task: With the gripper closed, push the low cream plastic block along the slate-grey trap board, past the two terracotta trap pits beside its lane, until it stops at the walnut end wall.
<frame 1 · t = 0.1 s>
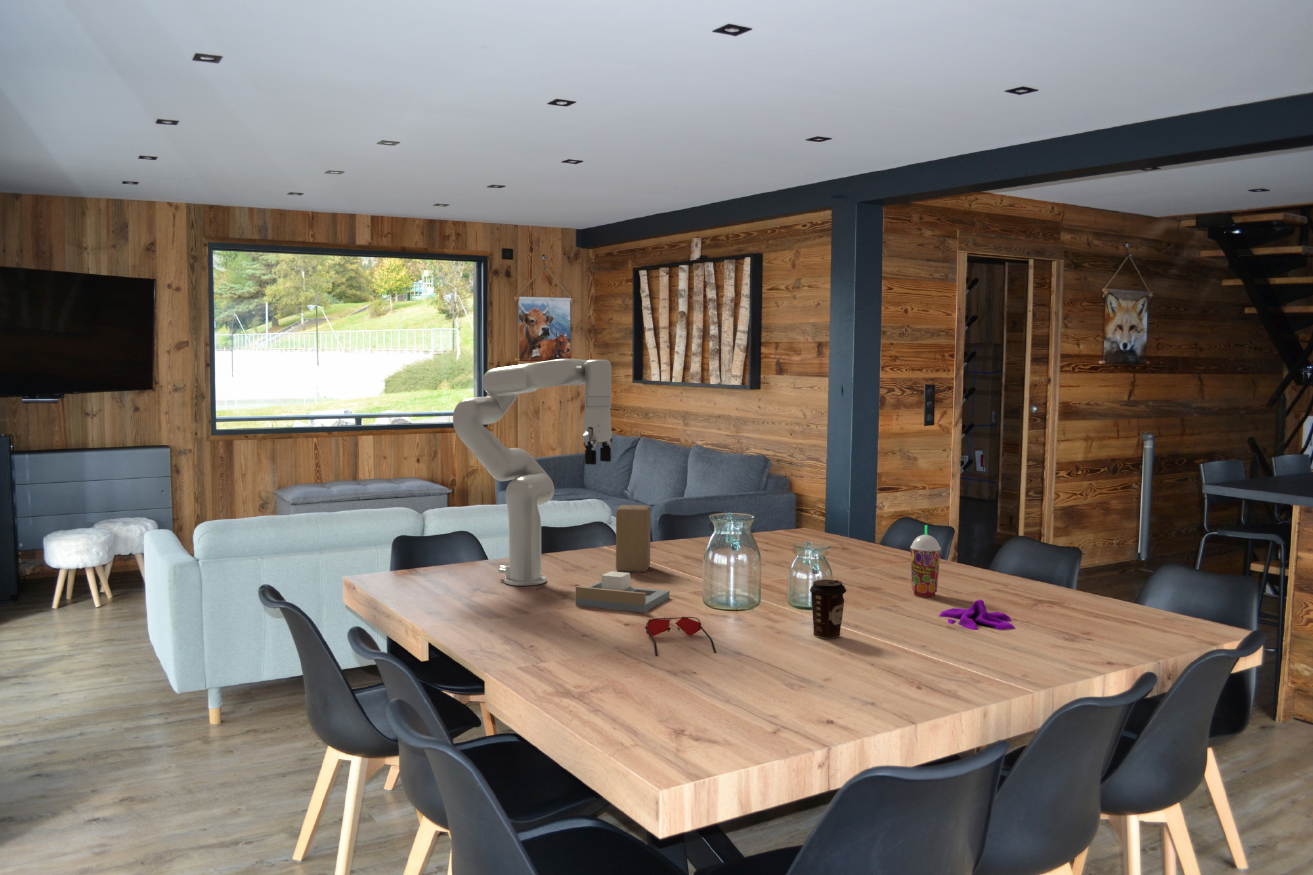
hand: (598, 462, 281), 37 cm above the table, tool pointing down, fingers open, 9 cm apart
coffee cup: (827, 636, 235), on the table
cloth: (976, 624, 249), on the table
trap board: (623, 601, 269), on the table
block: (633, 569, 312), on the table
smoothie: (924, 595, 278), on the table
glasses: (679, 646, 227), on the table
cream block: (615, 588, 276), point 2 cm above the table, touching trap board
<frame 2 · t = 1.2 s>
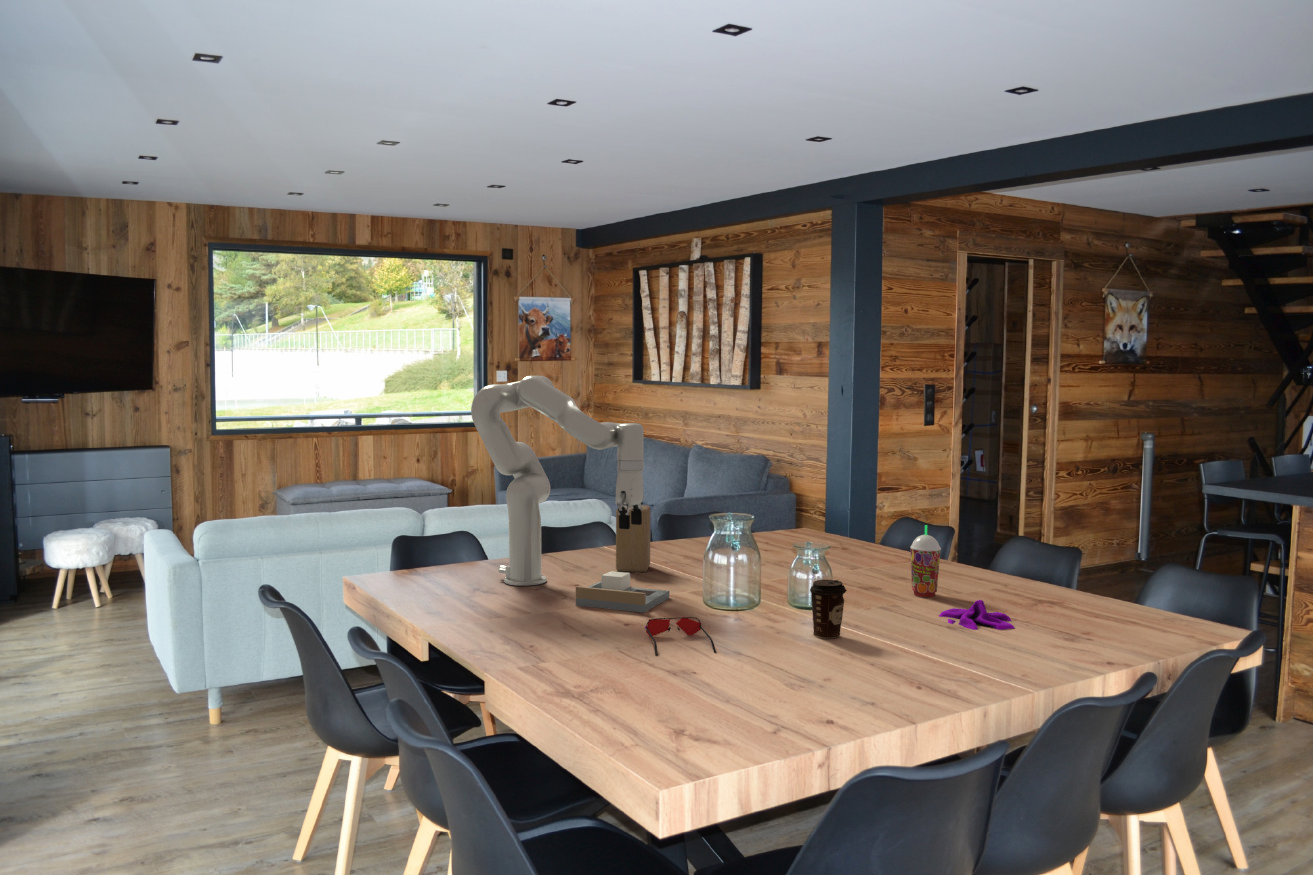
hand: (630, 526, 284), 18 cm above the table, tool pointing down, fingers open, 7 cm apart
nothing on the table moved.
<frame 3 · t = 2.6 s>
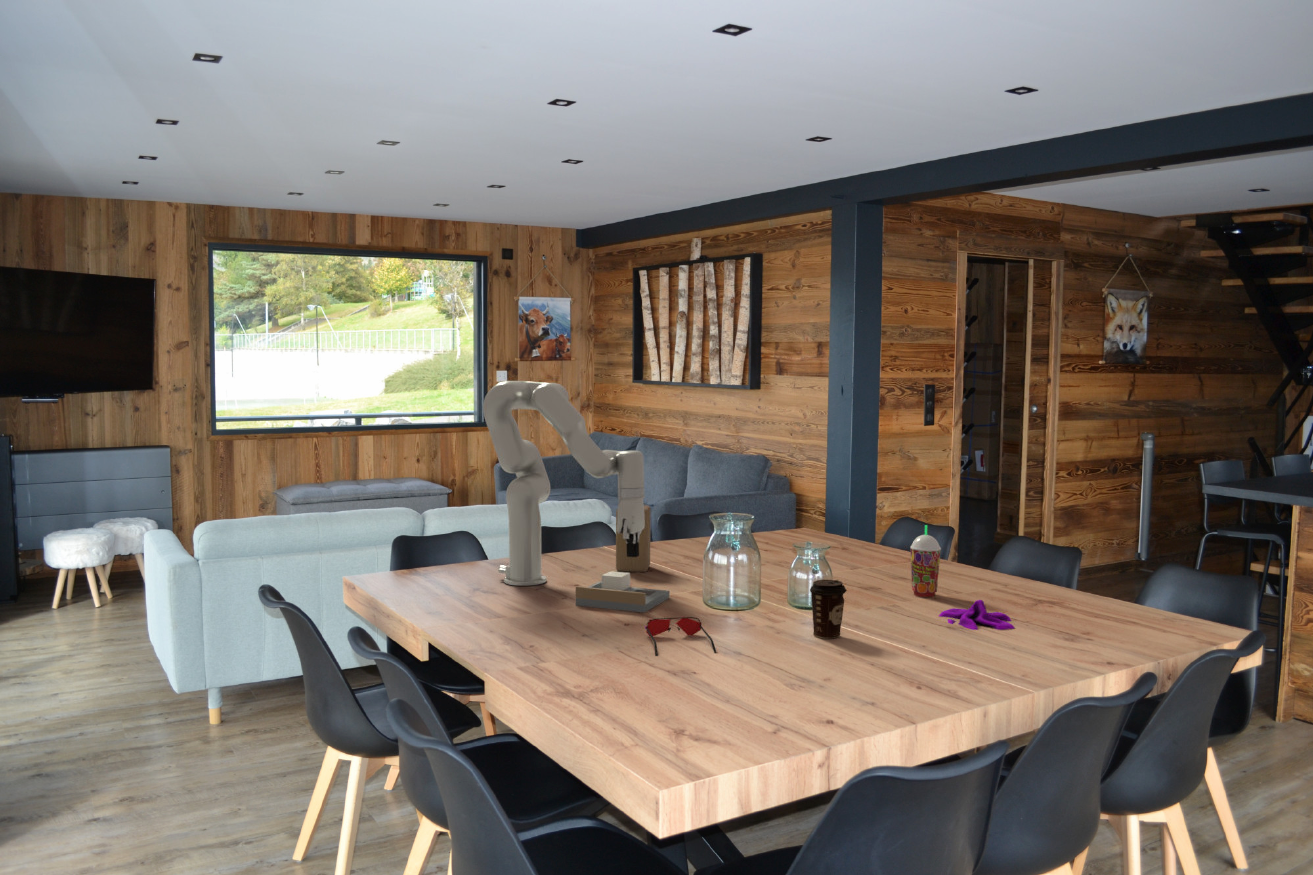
hand: (632, 556, 285), 9 cm above the table, tool pointing down, fingers closed
nothing on the table moved.
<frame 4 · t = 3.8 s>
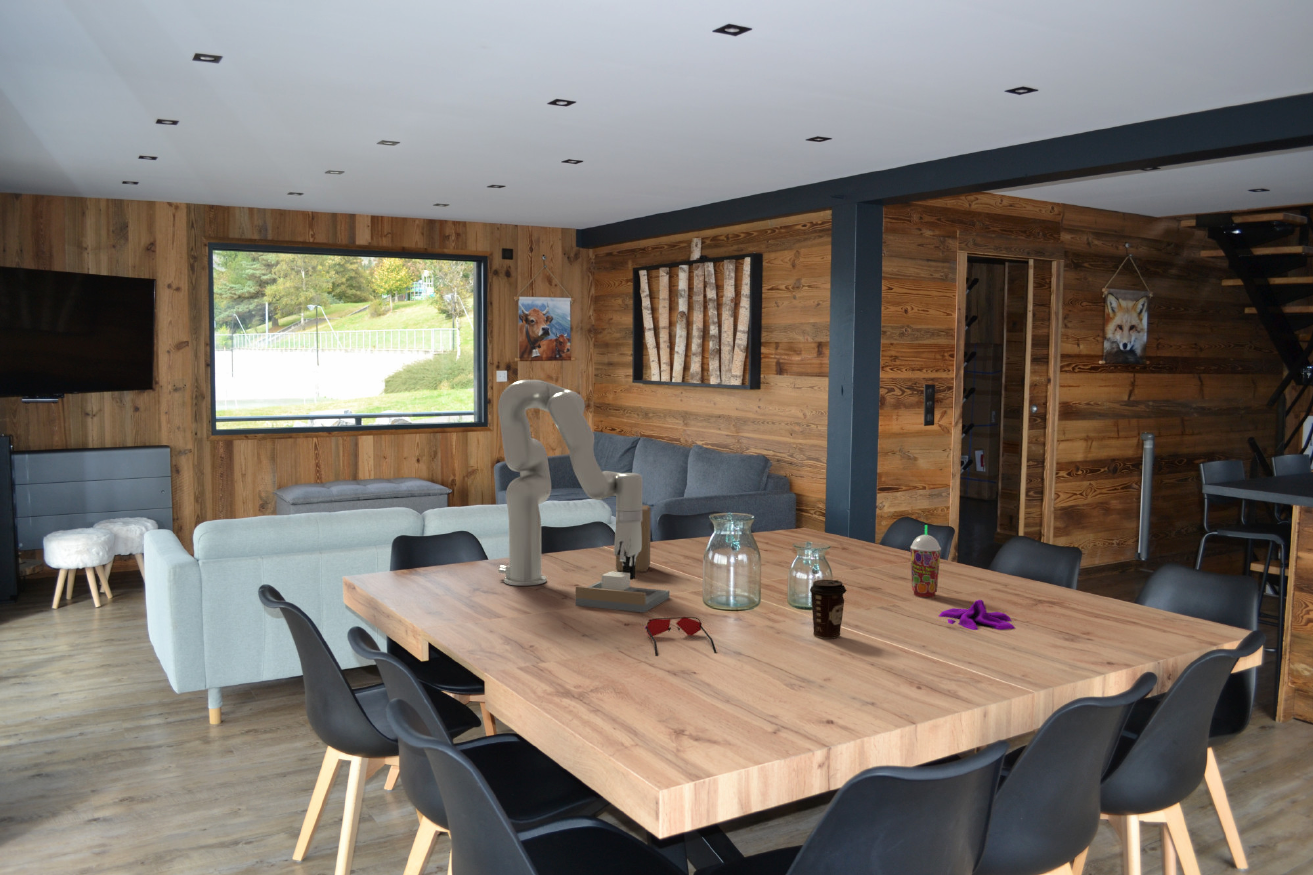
hand: (629, 578, 284), 3 cm above the table, tool pointing down, fingers closed
nothing on the table moved.
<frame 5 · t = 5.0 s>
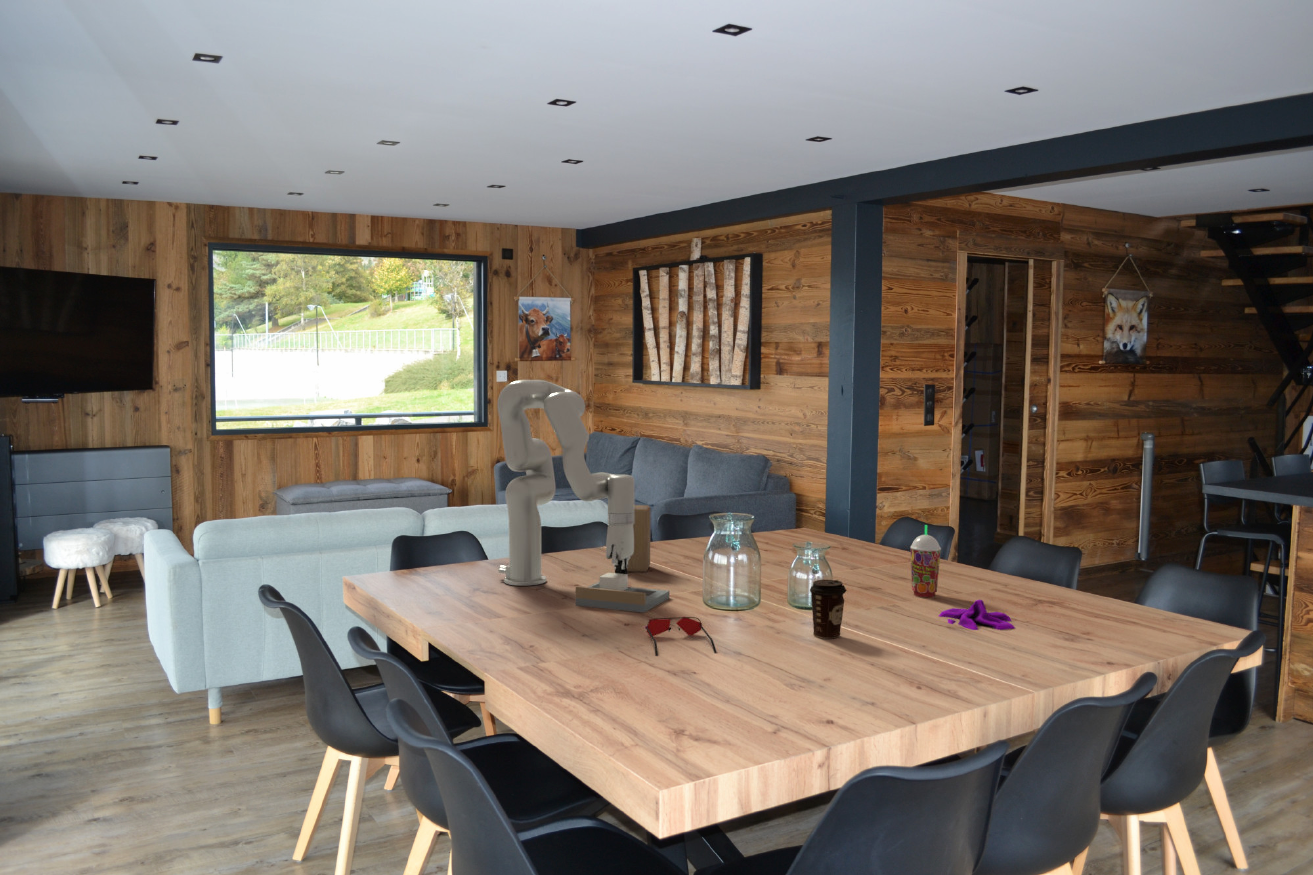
hand: (621, 582, 279), 3 cm above the table, tool pointing down, fingers closed
cream block: (613, 589, 274), point 2 cm above the table, touching gripper, trap board
everything else where it was.
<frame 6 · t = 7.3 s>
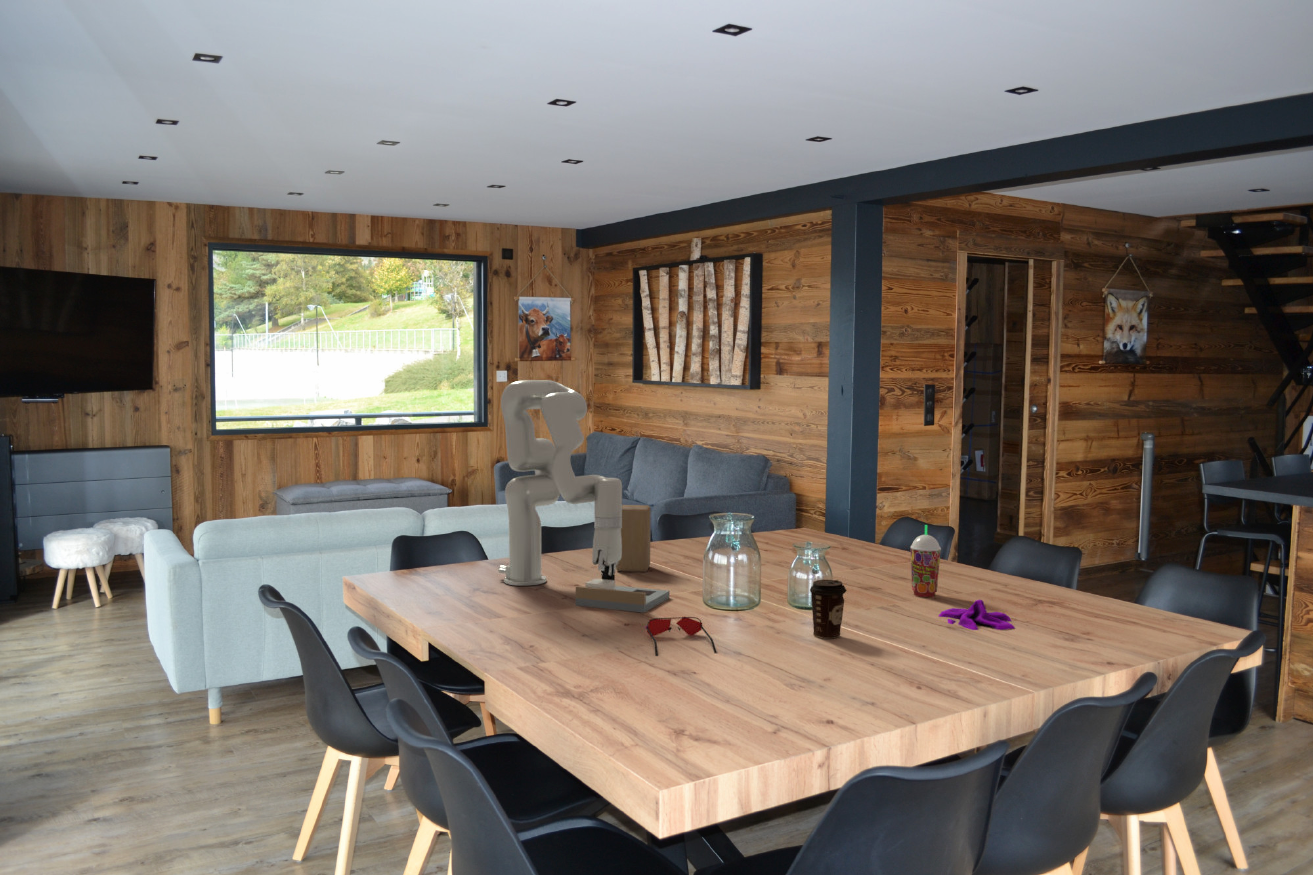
hand: (608, 588, 271), 3 cm above the table, tool pointing down, fingers closed
cream block: (600, 596, 266), point 2 cm above the table, touching gripper, trap board
everything else where it was.
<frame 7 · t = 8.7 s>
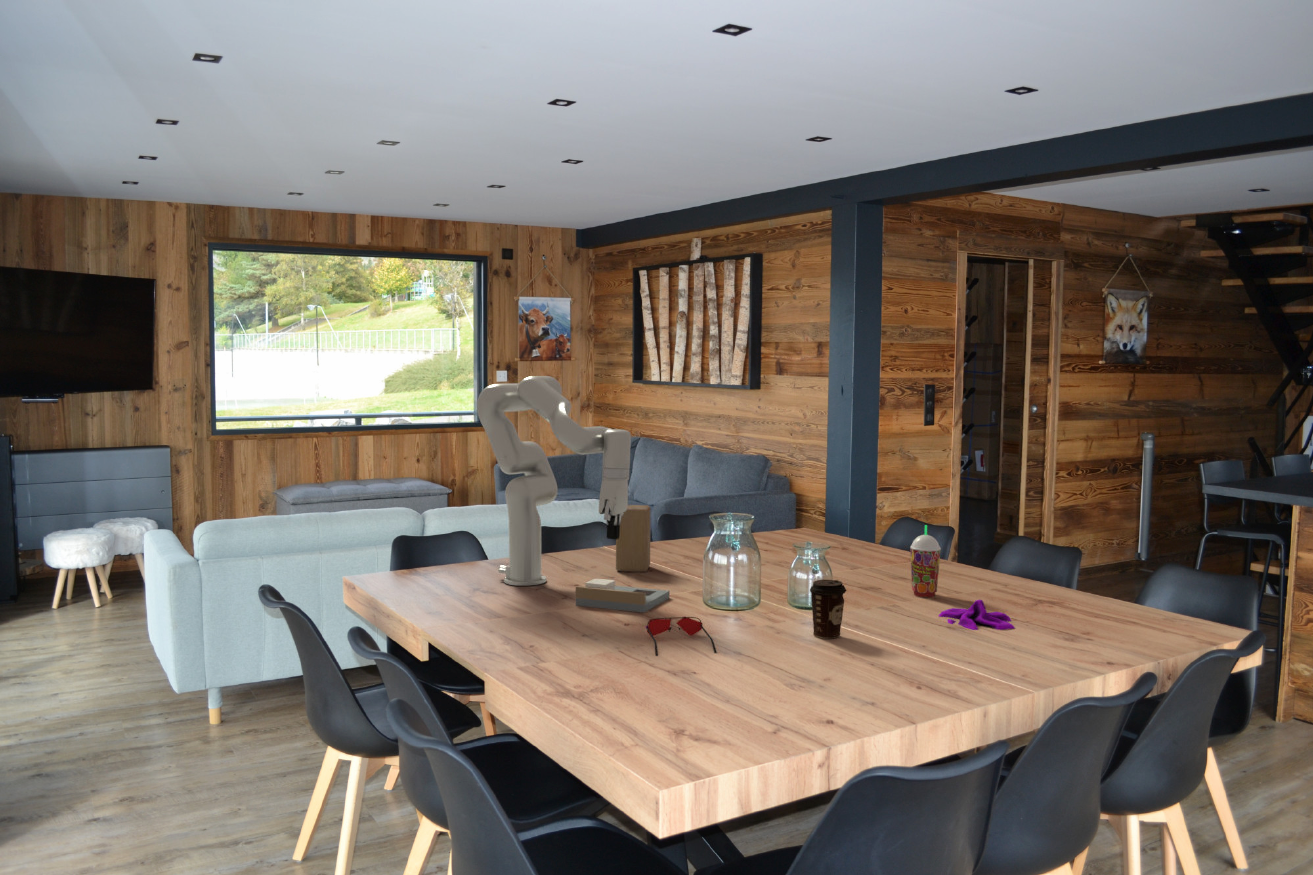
hand: (612, 538, 276), 16 cm above the table, tool pointing down, fingers closed
cream block: (600, 596, 266), point 2 cm above the table, touching trap board
everything else where it was.
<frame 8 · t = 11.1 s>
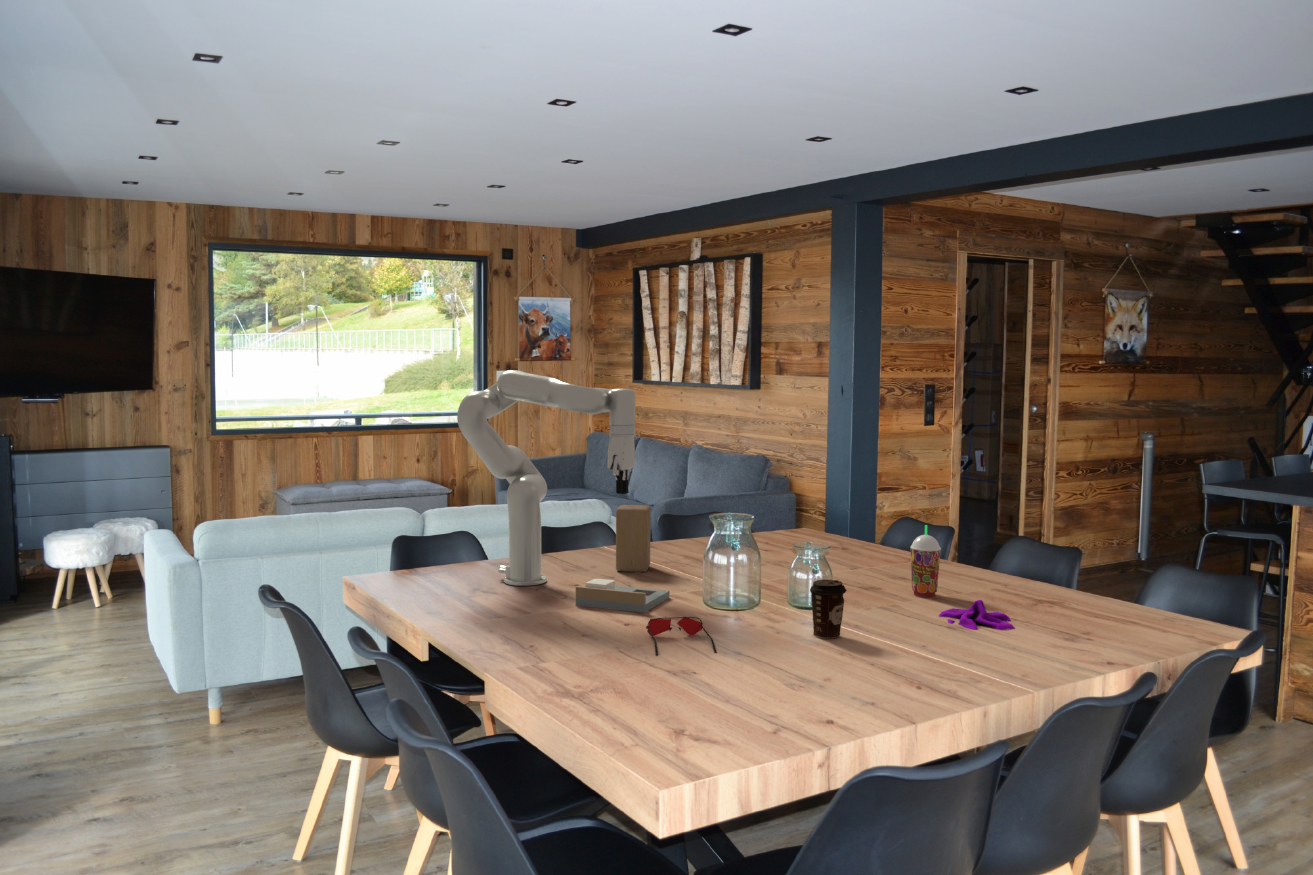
hand: (622, 493, 288), 27 cm above the table, tool pointing down, fingers closed
nothing on the table moved.
at the end: cream block 0.3 cm from the target spot, point 2.0 cm above the table; cream block tilted 0° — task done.
